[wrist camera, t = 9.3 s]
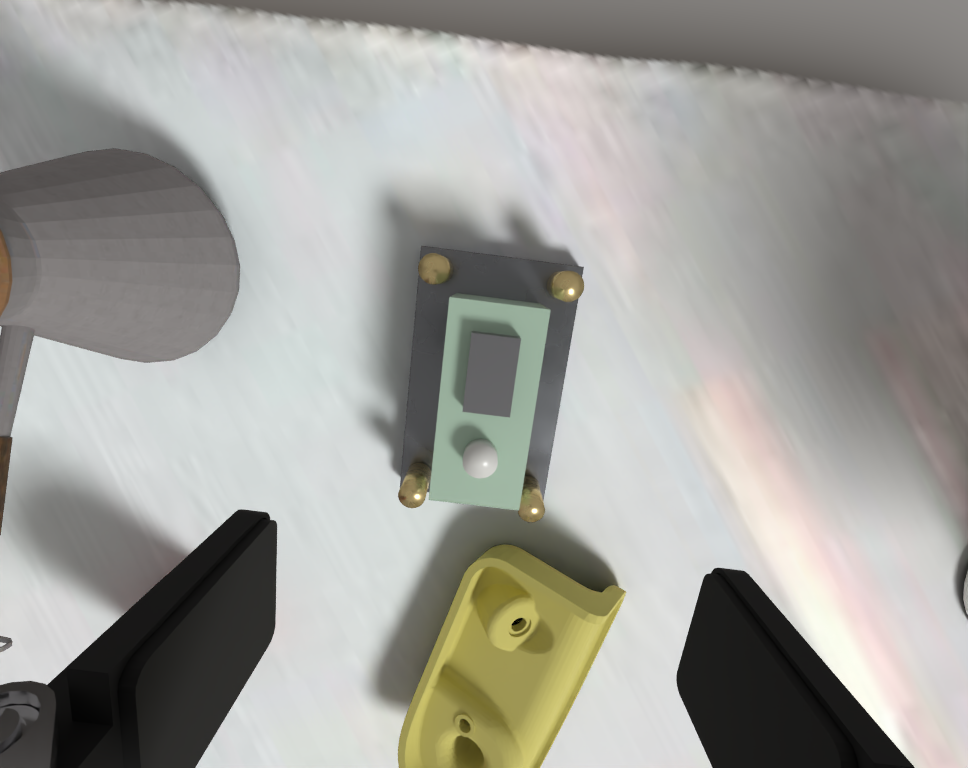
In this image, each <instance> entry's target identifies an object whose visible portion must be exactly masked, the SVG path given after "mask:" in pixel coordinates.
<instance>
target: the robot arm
mask: <svg viewBox="0 0 968 768" xmlns="http://www.w3.org/2000/svg"><path fill="white" fill-rule="evenodd" d="M276 558H277V523H276V521H274V520H270V516H269V514H268V513H267V512H259V511H250V510H238V511H236V512H235V513H234V514H233V515H232V516H231V517H230V518H228V519H227V520H226V521H225V522H224V523H223V524H222V525H221V526H220V527H219V528H218V529H217V530H215V531H214V532H213V533H212V534H211V535H210V536H209V537H208V538H207V539H206V540H205V541H204V542H202V543H201V544H200V545H199V546H198V547H197V548H196V549H195V550H194V551H193V552H192V553H191V554H189V555H188V556H187V557H186V558H185V559H184V560H183V561H182V562H181V563H180V564H179V565H178V566H176V567H175V568H174V569H173V570H172V571H171V572H170V573H169V574H168V575H166V576H165V577H164V578H163V579H162V580H161V581H160V582H158V583H157V584H156V585H155V586H154V587H153V588H152V589H151V590H150V591H149V592H148V593H147V594H145V595H144V596H143V597H142V598H141V599H140V600H139V601H138V602H137V603H136V604H135V605H134V606H132V607H131V608H130V609H129V610H128V611H127V612H126V613H125V614H124V615H123V616H122V617H120V618H119V619H118V620H117V621H116V622H115V623H114V624H113V625H112V626H111V627H110V628H109V629H107V630H106V631H105V632H104V633H103V634H102V635H101V636H100V637H99V638H98V639H97V640H96V641H94V642H93V643H92V644H91V645H90V646H89V647H88V648H87V649H86V650H85V651H84V652H82V653H81V654H80V655H79V656H78V657H77V658H76V659H75V660H74V661H73V662H72V663H71V664H69V665H68V666H67V667H66V668H65V669H64V670H63V671H62V672H61V673H60V674H59V675H58V676H56V677H55V678H54V679H53V680H52V681H51V682H50V683H49V684H48V685H46V684H43V683H38V682H33V681H24V682H11V683H7V684H3V685H0V768H195V767H196V765H197V764H198V762H199V760H200V759H201V757H202V755H203V754H204V752H205V750H206V749H207V747H208V745H209V744H210V742H211V740H212V739H213V737H214V735H215V734H216V732H217V730H218V729H219V727H220V725H221V724H222V722H223V720H224V719H225V717H226V716H227V714H228V712H229V711H230V709H231V707H232V706H233V704H234V702H235V701H236V699H237V697H238V696H239V694H240V692H241V691H242V689H243V687H244V686H245V684H246V682H247V681H248V679H249V677H250V676H251V674H252V672H253V671H254V669H255V667H256V666H257V664H258V662H259V661H260V659H261V657H262V656H263V654H264V652H265V651H266V649H267V648H268V646H269V644H270V642H271V640H272V637H273V634H274V630H275V614H276ZM963 599H964V604H965V609H966V613H967V615H968V571H967V575H966V578H965V582H964V595H963ZM677 687H678V691H679V694H680V696H681V698H682V701H683V703H684V705H685V707H686V709H687V712H688V714H689V716H690V718H691V721H692V723H693V725H694V727H695V730H696V732H697V734H698V736H699V738H700V741H701V743H702V745H703V747H704V750H705V752H706V754H707V756H708V758H709V761H710V763H711V765H712V767H713V768H914V766H913V765H912V764H911V763H910V762H909V761H908V759H907V758H906V757H905V756H904V755H903V754H902V752H901V751H900V750H899V749H898V748H897V747H896V745H895V744H894V743H893V742H892V741H891V740H890V738H889V737H888V736H887V735H886V734H885V733H884V731H883V730H882V729H881V728H880V727H879V726H878V724H877V723H876V722H875V721H874V720H873V719H872V717H871V716H870V715H869V714H868V713H867V712H866V710H865V709H864V708H863V707H862V706H861V705H860V703H859V702H858V701H857V700H856V699H855V698H854V696H853V695H852V694H851V693H850V692H849V691H848V690H847V688H846V687H845V686H844V685H843V684H842V683H841V681H840V680H839V679H838V678H837V677H836V676H835V674H834V673H833V672H832V671H831V670H830V669H829V667H828V666H827V665H826V664H825V663H824V662H823V660H822V659H821V658H820V657H819V656H818V655H817V653H816V652H815V651H814V650H813V649H812V648H811V646H810V645H809V644H808V643H807V642H806V641H805V639H804V638H803V637H802V636H801V635H800V634H799V632H798V631H797V630H796V629H795V628H794V627H793V625H792V624H791V623H790V622H789V621H788V620H787V619H786V617H785V616H784V615H783V614H782V613H781V612H780V610H779V609H778V608H777V607H776V606H775V605H774V603H773V602H772V601H771V600H770V599H769V598H768V596H767V595H766V594H765V593H764V592H763V591H762V589H761V588H760V587H759V586H758V585H757V584H756V582H755V581H754V580H753V579H752V578H751V577H750V575H749V574H747V573H746V572H745V571H741V570H732V569H724V568H715V569H714V570H713V571H712V573H711V574H706V575H705V577H704V579H703V582H702V586H701V589H700V593H699V596H698V600H697V603H696V607H695V610H694V614H693V618H692V621H691V625H690V628H689V632H688V635H687V639H686V642H685V646H684V650H683V653H682V657H681V660H680V664H679V667H678V671H677Z"/></svg>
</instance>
